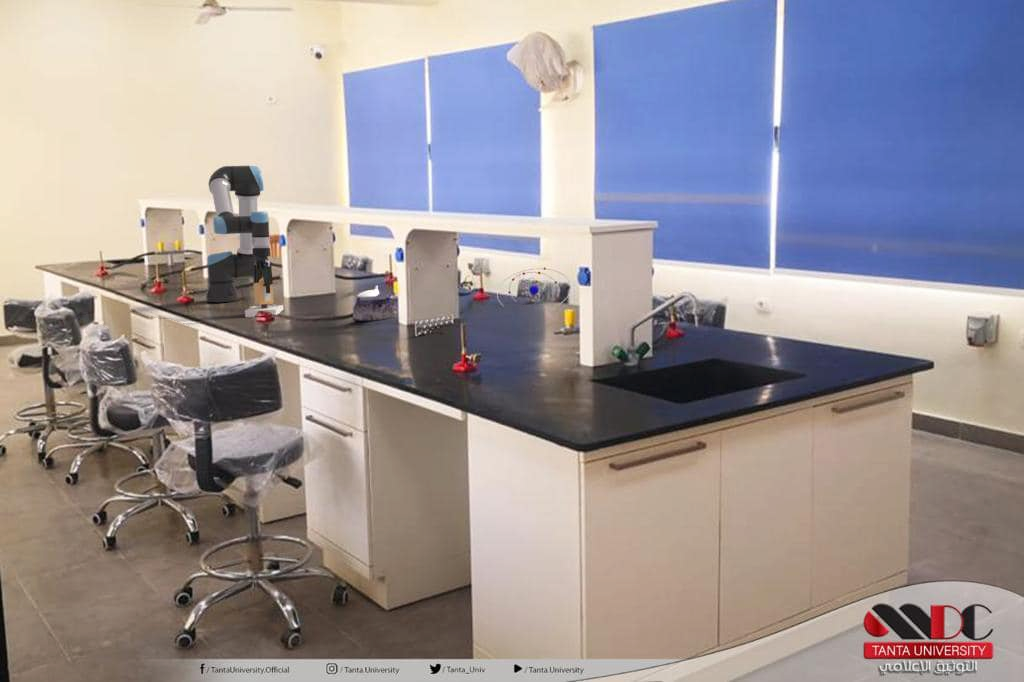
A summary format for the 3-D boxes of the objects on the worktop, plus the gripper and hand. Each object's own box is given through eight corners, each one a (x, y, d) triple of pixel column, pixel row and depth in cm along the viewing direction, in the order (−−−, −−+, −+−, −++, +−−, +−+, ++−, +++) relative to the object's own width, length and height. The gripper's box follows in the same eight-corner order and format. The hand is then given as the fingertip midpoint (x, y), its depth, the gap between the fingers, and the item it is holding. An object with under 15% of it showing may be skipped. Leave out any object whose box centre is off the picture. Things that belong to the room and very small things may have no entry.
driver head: (386, 283, 481) (368, 277, 471) (386, 304, 478) (368, 299, 469) (370, 288, 487) (352, 282, 477) (370, 309, 484) (352, 303, 474)
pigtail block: (254, 312, 444) (253, 296, 443) (283, 311, 444) (282, 296, 443) (245, 317, 426) (244, 301, 425) (276, 316, 427) (275, 300, 426)
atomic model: (527, 340, 440) (584, 303, 436) (514, 330, 420) (573, 291, 416) (497, 289, 449) (553, 252, 445) (482, 276, 430) (540, 238, 425)
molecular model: (429, 339, 366) (428, 322, 365) (410, 338, 371) (410, 321, 370) (469, 331, 387) (469, 314, 386) (451, 329, 391) (450, 313, 391)
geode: (365, 324, 397) (364, 299, 395) (346, 322, 405) (345, 297, 403) (403, 318, 412) (402, 294, 410) (384, 317, 419) (383, 293, 418)
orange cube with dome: (254, 303, 435) (253, 278, 433) (267, 302, 439) (266, 277, 437) (260, 304, 430) (259, 279, 429) (273, 303, 434) (272, 278, 432)
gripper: (243, 247, 436) (246, 299, 439) (263, 248, 421) (266, 302, 425) (259, 246, 441) (262, 298, 444) (279, 247, 426) (282, 301, 429)
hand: (264, 300), depth 434 cm, fingers closed on orange cube with dome, 6 cm apart
